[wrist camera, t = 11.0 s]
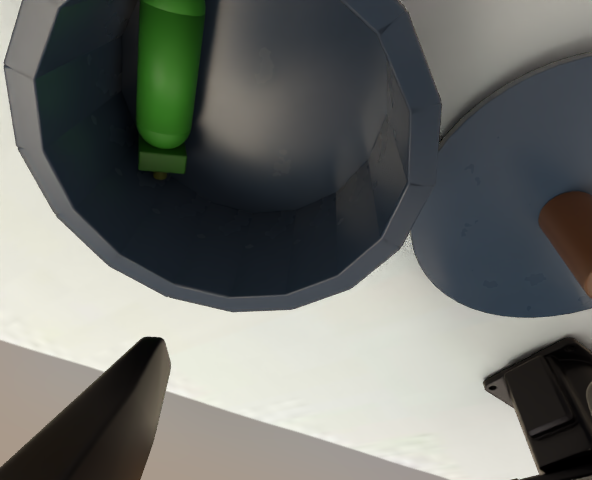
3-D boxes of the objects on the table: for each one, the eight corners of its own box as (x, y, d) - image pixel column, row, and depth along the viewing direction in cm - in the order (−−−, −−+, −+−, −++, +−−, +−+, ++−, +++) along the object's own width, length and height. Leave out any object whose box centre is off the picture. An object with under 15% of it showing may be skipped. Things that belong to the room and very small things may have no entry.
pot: (474, 73, 17) (537, 138, 11) (285, 259, 23) (272, 353, 18) (199, -199, 13) (106, -289, 7) (64, 119, 19) (-36, 189, 14)
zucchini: (213, -16, 13) (205, -29, 15) (141, -35, 13) (141, -46, 14) (186, 192, 18) (183, 166, 20) (133, 188, 17) (133, 162, 19)
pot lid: (792, 184, 18) (939, 265, 14) (518, 336, 25) (558, 423, 21) (624, -47, 14) (761, -35, 10) (349, 215, 21) (354, 292, 17)
